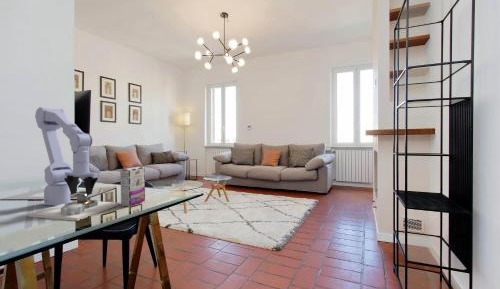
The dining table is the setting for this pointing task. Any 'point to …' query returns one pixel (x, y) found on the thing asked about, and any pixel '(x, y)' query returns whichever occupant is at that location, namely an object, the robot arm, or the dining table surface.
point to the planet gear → (82, 199)
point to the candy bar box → (132, 186)
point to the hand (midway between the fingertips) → (81, 194)
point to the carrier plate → (73, 210)
